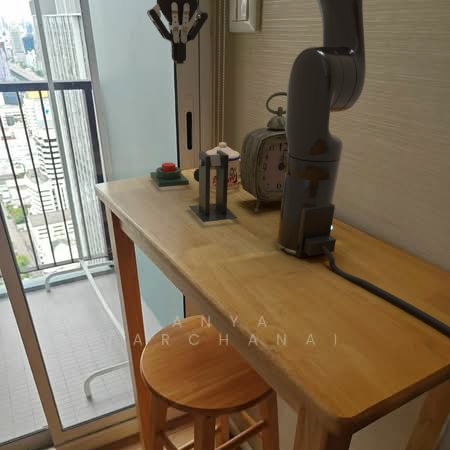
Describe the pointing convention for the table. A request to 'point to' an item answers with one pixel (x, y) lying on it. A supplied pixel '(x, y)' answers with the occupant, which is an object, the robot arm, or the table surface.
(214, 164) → the lever
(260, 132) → the tabletop clock
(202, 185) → the bracket
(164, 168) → the button
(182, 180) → the button box
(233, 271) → the table surface
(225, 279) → the table surface
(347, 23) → the robot arm
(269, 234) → the table surface
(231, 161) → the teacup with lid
